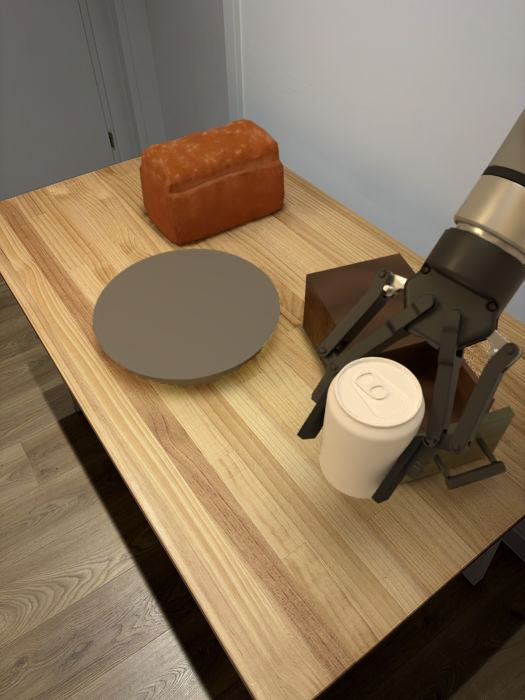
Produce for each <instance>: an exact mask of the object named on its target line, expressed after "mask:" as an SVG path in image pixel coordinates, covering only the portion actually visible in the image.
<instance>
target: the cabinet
mask: <svg viewBox="0 0 525 700" xmlns="http://www.w3.org/2000/svg"><path fill="white" fill-rule="evenodd" d="M380 268H386V269H388V270H389V271H391V272H392V273H393V274H396V275H399V276H401V277H404V278H407V279H408V278H409V277H411V276H412V275H414V274H416V273H417V272H416V271H414V269H413V268H412V267H411V265H410V263H408V261H407V260H406V259H405V258H404V257H403V255H402V254H401V253H400V252H397V253H393V254H389V255H384V256H381V257H376V258H371V259H366V260H362V261H359V262H353V263H349V264H345V265H340V266H337V267H331V268H328V269H323V270H319V271H315V272H311V273H307V274H305V286H304V287H305V288H304V299H303V300H304V303H303V316H302V328H303V330H304V332H305V334H306V336H307V338H308V340H309V342H310V344H311V346H312V347H313V349H314V351H315V353H316V355H317V357H318V359H319V361H320V363H321V365H322V366H323V369H324V370H325V371H326V370H327V366H326V363H325V362H324V360H323V358H322V357H320V356H319V355H318V354H317V348H318V346H319V345H320V344H321V343H322V342H323V341H324V340H325V338H326V337H327V336H328V335H329V334H330V333H331V332H332V331H333V329H334V328H335V327H336V326H337V325H338V324H339V323H340V322H341V320H342V319H343V318H344V317H345V316H346V315H347V314H348V313H349V311H350V310H351V309H352V308H353V307H354V306H355V305H356V303H357V302H358V301H359V300H360V299H361V298H362V297H363V296H364V294H365V293H366V292H367V291H368V290H369V288H370V286H371V283H372V281H373V279H374V276H375V274H376V272H377V270H378V269H380ZM402 310H404V291H400V292H399V293H398V294H397V295H396V296H395V297H394V298H389V300H388V301H387V303H386V304H385V305H384V307H383V308H382V309H381V310H380V311H379V312H378V313H377V314H376V315H375V317H374V318H373V319H372V320H371V321H370V322H369V323H368V324H367V325H366V326H365V328H364V329H363V330H362V331H361V332H360V333H359V334H358V335H357V336H356V337H355V339H354V340H353V341H352V342H351V343H350V344H349V345H348V346H347V347H346V348H345V350H344V351H343V352H342V353H341V354H343V353H344V352H346V351H347V350H349V349H350V348H352V347H353V346H354V345H356V344H357V343H359V342H360V341H362V340H363V339H365V338H366V337H368V336H369V335H371V334H372V333H373V332H375V331H376V330H378V329H379V328H381V327H382V326H384V325H385V324H386V323H387V322H388V320H389V319H391V318H392V317H394V316H395V315H397V314H398V313H400V312H401V311H402ZM427 344H429V343H428V342H427V341H426V340H425V339H423V338H420V337H417V336H415V335H413V334H410V335H409V336H407V337H404V338H402V339H400V340H398V341H397V342H395V343H394V344H392V345H391V346H389V347H388V348H386V349H385V350H383V351H382V352H380V353H379V354H377V355H376V356H374V357H382V356H386V355H390V354H393V353H397V352H401V351H405V350H408V349H412V348H416V347H419V346H423V345H427ZM341 354H340V355H341Z"/></svg>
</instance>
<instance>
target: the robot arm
mask: <svg viewBox="0 0 525 700" xmlns="http://www.w3.org/2000/svg"><path fill="white" fill-rule="evenodd" d="M452 219H453V222H454V224H455V227H449V228H446V229H444V231H443V232H442V234H441V236H440V237H439V239H438V240H437V241H436V243H435V245H434V246H433V248H432V249H431V251H429V252H430V253H429V254H428V256H427V257H426V258H425V260H424V262H423V264H422V265H421V267H420V269H419V270H418V271H417V272H415V273H416V274H414V275H412V276H411V277H409V278H408V279H407V278H404V277H401V276H399V275H396V274H393V273H392V272H391V271H389V270H388V269H386V268H380V269H378V270H377V272H376V274H375V276H374V279H373V281H372V283H371V286H370V288H369V290H368V291H367V292H366V293H365V294H364V296H363V297H362V298H361V299H360V300H359V301H358V302H357V303H356V305H355V306H354V307H353V308H352V309H351V310H350V311H349V313H348V314H347V315H346V316H345V317H344V318H343V319H342V320H341V322H340V323H339V324H338V325H337V326H336V327H335V328H334V329H333V331H332V332H331V333H330V334H329V335H328V336H327V337H326V338H325V340H324V341H323V342H322V343H321V344H320V345H319V346H318V348H317V353H316V355H317V354H318V355H319V356H320V357H322V358H323V360H324V362H325V363H326V366H327V370H325V372H324V374H323V376H322V377H321V379H320V380H319V382H318V383H317V385H316V386H315V388H314V389H313V392H312V393H311V396H310V397H311V398H310V400H311V401H312V402H314V403H315V405H314V407H313V408H312V409H311V411H310V413H309V415H308V416H307V418H306V419H305V421H304V422H303V424H302V425H301V427H300V428H299V430H298V432H297V433H296V436H297V437H298V438H300V439H301V440H303V441H304V440H314V439H316V438H317V436H318V435H319V434H320V432H321V430H323V425H324V417H325V410H326V402H327V395H328V390H329V387H330V384H331V382H332V381H333V379H334V378H335V377H336V375H337V374H338V373H339V372H340V371H341V370H342V369H343V368H344V367H345V366H346V365H347V364H349V363H351V362H353V361H355V360H357V359H361V358H367V357H374V356H376V355H377V354H379V353H380V352H382V351H383V350H385V349H386V348H388V347H389V346H391V345H392V344H394V343H395V342H397V341H398V340H400V339H402V338H404V337H407V336H409V335H410V334H413V335H415V336H417V337H420V338H423V339H425V340H426V341H427V342H428V343H429V344H430V345H431V346H432V347H434V348H435V349H437V350H439V356H438V370H437V376H436V381H435V386H434V392H433V397H432V403H431V408H430V414H429V419H428V425H427V430H426V435H425V437H424V436H423V435H421V436H415V437H414V438H413V439H412V441H411V442H410V444H409V445H408V446H407V447H406V448H405V450H404V451H403V453H402V454H401V456H400V457H399V458H398V460H397V461H396V463H395V464H394V466H393V467H392V468H391V470H390V471H389V473H388V474H387V476H386V477H385V479H384V480H383V481H382V483H381V484H380V486H379V487H378V489H377V490H376V491H375V493H374V494H373V496H372V497H371V499H372V500H373V502H375V503H376V504H381V503H383V502H386V501H388V500H389V499H390V498H391V496H392V495H393V494H394V493H395V491H396V489H397V488H398V486H400V485H401V484H400V482H401V481H402V479H403V478H404V477H405V475H406V474H407V475H408V476H409V477H410V478H412V479H413V478H416V477H418V476H420V475H421V474H422V473H423V472H424V470H425V469H426V468H427V466H428V465H429V463H430V462H431V461H432V459H433V458H434V456H435V455H436V454H437V452H438V451H439V450H446V451H449V452H452V453H453V454H461V453H464V452H466V451H468V450H469V448H470V446H471V444H472V442H473V439H474V437H475V435H476V433H477V431H478V429H479V427H480V424H481V422H482V420H483V418H484V416H485V414H486V412H487V410H488V407H489V405H490V403H491V401H492V399H493V397H494V398H495V395H496V392H497V390H498V388H499V386H500V384H501V382H502V379H503V378H504V376H505V373H506V372H507V371H508V370H509V369H511V368H512V366H514V365H515V364H516V363H517V362H518V361H519V360H520V359H521V357H522V356H523V350H522V348H521V347H520V346H519V345H518V344H516V343H515V342H511V341H509V340H508V339H507V338H506V337H505V336H504V335H502V334H501V333H500V332H499V331H498V329H499V320H500V317H501V315H502V313H503V311H504V310H505V309H506V308H507V306H508V304H509V303H510V302H511V300H512V299H513V297H514V296H515V294H516V293H517V292H518V291H519V289H520V288H521V286H522V285H523V283H524V282H525V107H524V108H523V110H522V112H521V113H520V114H519V116H518V118H517V120H516V121H515V122H514V124H513V126H512V127H511V129H510V131H508V134H507V135H506V136H505V138H504V140H503V142H502V143H501V144H500V146H499V148H498V149H497V151H496V152H495V154H494V155H493V157H492V159H491V160H490V162H489V164H488V165H487V167H485V169H484V171H483V172H482V174H481V175H480V177H479V178H478V179H477V181H476V182H475V184H474V185H473V187H472V188H471V190H470V191H469V193H468V194H467V195H466V197H465V198H464V200H463V202H462V204H460V207H459V208H458V209H457V211H456V212H455V214H454V215H453V218H452ZM400 291H404V310H402V311H401V312H400V313H398V314H397V315H395V316H394V317H392V318H391V319H389V320H388V322H387V323H386V324H385V325H384V326H382V327H381V328H379V329H378V330H376V331H375V332H373V333H372V334H371V335H369V336H368V337H366V338H365V339H363V340H362V341H360V342H359V343H357V344H356V345H354V346H353V347H352V348H350V349H349V350H347V351H346V352H344V353H343V354H341V353H342V352H343V351H344V350H345V348H346V347H347V346H348V345H349V344H350V343H351V342H352V341H353V340H354V339H355V337H356V336H357V335H358V334H359V333H360V332H361V331H362V330H363V329H364V328H365V326H366V325H367V324H368V323H369V322H370V321H371V320H372V319H373V318H374V317H375V315H376V314H377V313H378V312H379V311H380V310H381V309H382V308H383V307H384V305H385V304H386V303H387V301H388V300H389V298H394V297H395V296H396V295H397V294H398V293H399V292H400ZM485 341H487V342H488V347H487V349H486V351H485V356H486V359H488V361H487V362H486V364H485V365H484V367H483V369H482V371H481V373H480V375H479V377H478V378H479V379H478V381H477V384H476V386H475V388H474V390H473V392H472V394H471V397H470V399H469V401H468V403H467V405H466V407H465V410H464V412H463V414H462V416H461V418H460V420H459V422H458V425H457V427H456V429H455V431H454V433H453V435H449V434H448V430H449V425H450V419H451V414H452V408H453V403H454V397H455V392H456V386H457V381H458V376H459V370H460V367H461V365H462V361H463V358H464V354H465V349H466V348H469V347H472V346H474V345H477V344H479V343H483V342H485ZM340 354H341V355H340ZM318 355H317V356H318Z"/></svg>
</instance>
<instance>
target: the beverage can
mask: <svg viewBox="0 0 525 700" xmlns="http://www.w3.org/2000/svg"><path fill="white" fill-rule="evenodd" d="M424 412H425V402H424V397H423V394H422V389H421V386H420V384H419V382H418V380H417V378H416V377H415V376H414V375H413V374H412V372H410V371H409V370H408V369H407V368H406V367H404V366H403V365H401V364H399V363H397V362H395V361H392V360H389V359H385V358H379V357H367V358H361V359H357V360H355V361H353V362H351V363H349V364H347V365H346V366H345V367H344V368H343V369H342V370H341V371H340V372H339V373H338V374H337V375H336V377H335V378H334V379H333V381H332V382H331V384H330V387H329V390H328V395H327V402H326V410H325V417H324V425H323V427H322V434H321V440H320V449H319V458H318V459H319V465H320V469H321V472H322V474H323V477H325V479H326V480H327V482H329V484H330V485H331V486H333V488H335V489H336V490H337V491H339V492H340V493H342V494H344V495H346V496H349V497H351V498H356V499H363V500H368V499H372V498H371V497H372V496H373V494H374V493H375V491H376V490H377V489H378V487H379V486H380V484H381V483H382V481H383V480H384V479H385V477H386V476H387V474H388V473H389V471H390V470H391V468H392V467H393V466H394V464H395V463H396V461H397V460H398V458H399V457H400V456H401V454H402V453H403V451H404V450H405V448H406V447H407V446H408V445H409V444H410V442H411V441H412V439H413V438H414V437H415V436H417V433H418V431H419V428H420V425H421V422H422V420H423V417H424Z"/></svg>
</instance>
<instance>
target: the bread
mask: <svg viewBox="0 0 525 700" xmlns="http://www.w3.org/2000/svg"><path fill="white" fill-rule="evenodd" d="M140 155H141V156H140V157H141V158H140V165H139V168H138V170H139V177H140V187H141V195H142V201H143V205H144V209H145V212H146V214H147V216H148V218H150V220H151V221H152V223H153V224H154V225H155V226H156V227H157V228H158V230H159V231H160V232H161V233H162V234H163V236H165V237H166V238H167V239H168V241H170V242H172V243H174V244H176V245H184V244H187V243H191V242H195V241H198V240H201V239H204V238H206V237H209V236H212V235H214V234H217V233H220V232H223V231H226V230H229V229H231V228H235V227H236V226H239V225H242V224H243V223H245V222H248V221H251V220H255V219H258V218H261V217H263V216H267V215H269V214H272V213H275V212H276V211H278V210H281V209H282V208H283V207H284V201H285V196H286V195H285V194H286V193H285V173H284V172H285V171H284V164H283V163H282V161H281V159H280V148H279V143H278V142H277V141H276V140H275V139H274V137H272V136H271V134H269V133H268V132H267V131H266V130H265V129H264V128H263V127H261V126H260V125H259V124H257V123H256V122H254V121H253V120H250V119H247V118H241V119H236V120H233V121H231V122H229V123H227V124H226V125H222V126H216V127H212V128H210V129H209V128H208V129H207V130H202V131H199V132H193V133H189V134H187V135H185V136H182V137H179V138H177V139H174V140H169V141H164V142H159V143H155V144H153V145H150V146H148V147H147V148H145V149H144V150H143V151H142V152H141V154H140Z"/></svg>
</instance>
